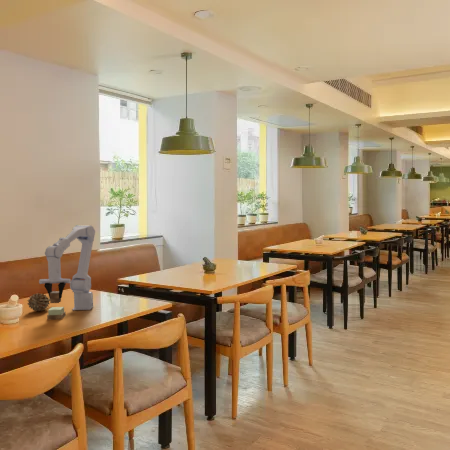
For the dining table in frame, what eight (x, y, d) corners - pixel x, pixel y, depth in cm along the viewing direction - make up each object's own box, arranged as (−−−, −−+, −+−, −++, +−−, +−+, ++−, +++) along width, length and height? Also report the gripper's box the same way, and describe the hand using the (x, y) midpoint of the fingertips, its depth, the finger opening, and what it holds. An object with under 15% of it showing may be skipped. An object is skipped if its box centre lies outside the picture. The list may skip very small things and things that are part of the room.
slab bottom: (65, 316, 242) (65, 311, 242) (62, 320, 235) (61, 315, 235) (51, 316, 241) (51, 312, 241) (47, 320, 234) (47, 315, 234)
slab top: (64, 311, 241) (63, 306, 241) (61, 314, 235) (60, 309, 235) (51, 312, 241) (51, 307, 241) (48, 315, 235) (48, 310, 235)
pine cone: (41, 315, 244) (40, 295, 243) (23, 314, 245) (22, 295, 244) (62, 305, 265) (61, 287, 265) (45, 304, 267) (45, 286, 266)
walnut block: (60, 301, 239) (60, 291, 239) (58, 303, 235) (58, 292, 235) (52, 301, 239) (52, 291, 239) (50, 303, 235) (49, 293, 235)
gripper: (36, 272, 232) (37, 300, 233) (67, 271, 233) (68, 299, 234) (41, 269, 239) (42, 297, 240) (71, 269, 240) (72, 296, 241)
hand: (55, 298), depth 237 cm, fingers closed on walnut block, 4 cm apart
